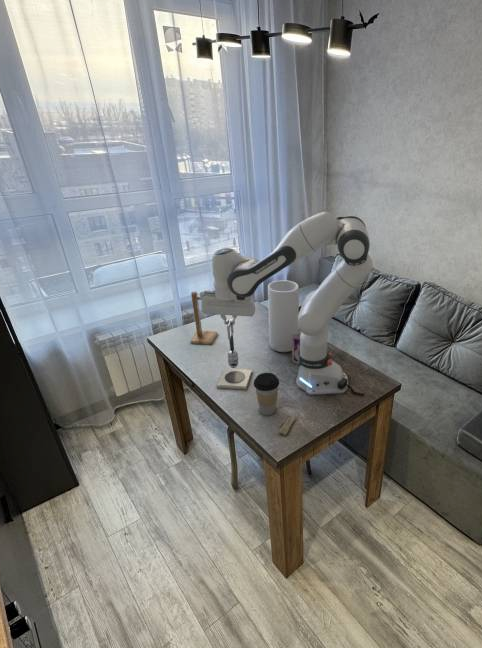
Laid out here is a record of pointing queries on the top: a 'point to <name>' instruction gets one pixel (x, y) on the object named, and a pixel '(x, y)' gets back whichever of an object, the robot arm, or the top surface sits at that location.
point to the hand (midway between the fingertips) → (229, 324)
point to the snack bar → (287, 425)
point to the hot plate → (234, 378)
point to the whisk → (232, 348)
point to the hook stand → (200, 335)
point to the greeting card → (295, 348)
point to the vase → (283, 314)
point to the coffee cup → (267, 392)
